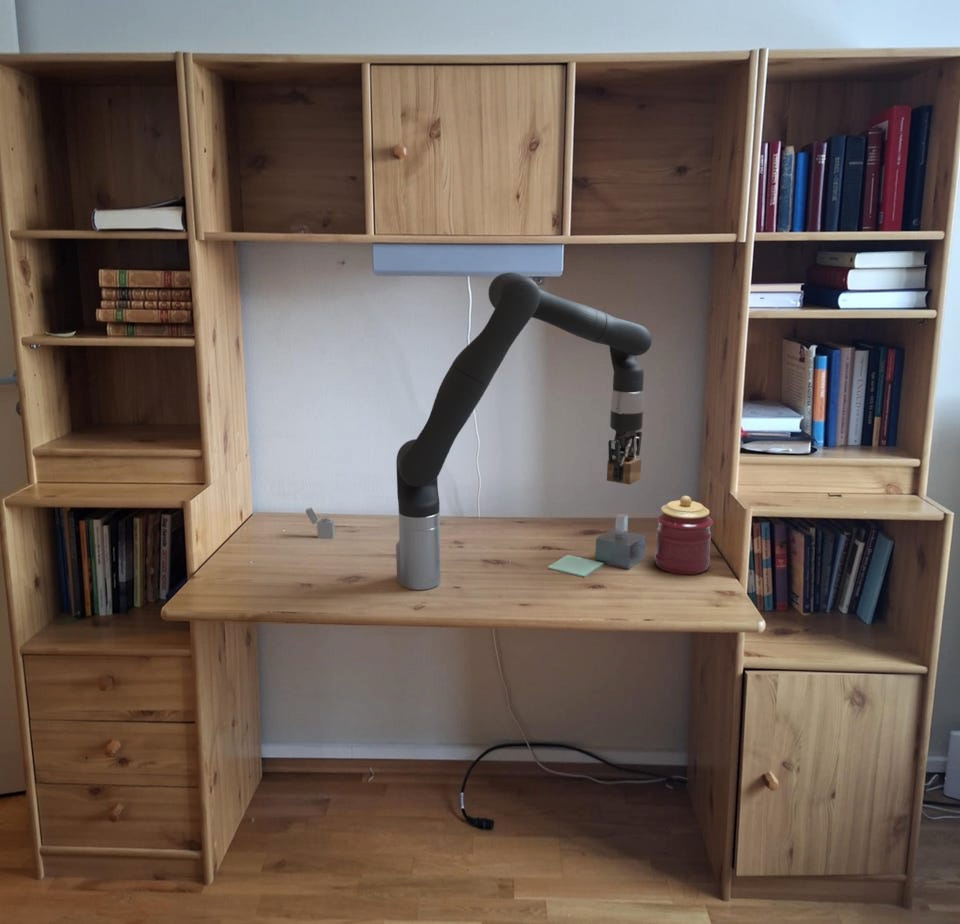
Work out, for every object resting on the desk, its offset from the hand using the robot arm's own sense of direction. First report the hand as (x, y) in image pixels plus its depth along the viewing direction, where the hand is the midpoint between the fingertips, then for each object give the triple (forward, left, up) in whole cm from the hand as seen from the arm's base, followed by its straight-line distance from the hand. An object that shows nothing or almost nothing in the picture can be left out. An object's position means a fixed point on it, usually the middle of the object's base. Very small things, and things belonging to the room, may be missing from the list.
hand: (623, 477), depth 210 cm
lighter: (-73, -29, -21) cm, 81 cm away
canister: (+14, +5, -21) cm, 26 cm away
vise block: (0, 0, -21) cm, 21 cm away
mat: (-7, -10, -21) cm, 24 cm away
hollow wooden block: (0, 0, -1) cm, 1 cm away
